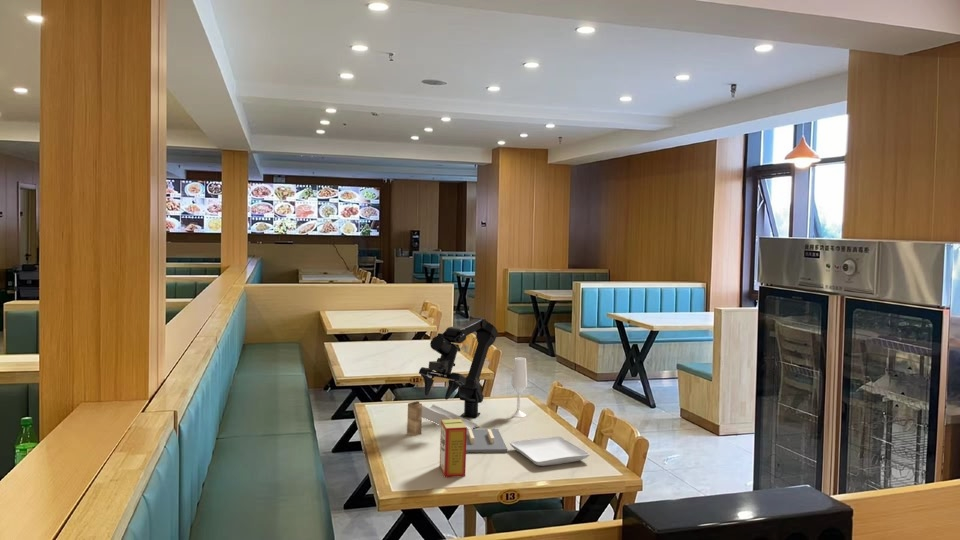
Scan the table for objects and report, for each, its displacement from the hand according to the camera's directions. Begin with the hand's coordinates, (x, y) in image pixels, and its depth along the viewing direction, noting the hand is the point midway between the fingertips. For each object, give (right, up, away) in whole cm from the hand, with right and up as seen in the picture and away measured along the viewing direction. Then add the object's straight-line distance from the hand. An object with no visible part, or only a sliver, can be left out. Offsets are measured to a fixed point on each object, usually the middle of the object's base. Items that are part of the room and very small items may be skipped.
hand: (435, 397), depth 245 cm
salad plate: (+41, -17, -22) cm, 49 cm away
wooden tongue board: (-8, -13, -3) cm, 16 cm away
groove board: (+17, -14, -10) cm, 24 cm away
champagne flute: (+33, -13, +26) cm, 44 cm away
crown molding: (+2, -13, +16) cm, 21 cm away
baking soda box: (+8, -16, -38) cm, 42 cm away
